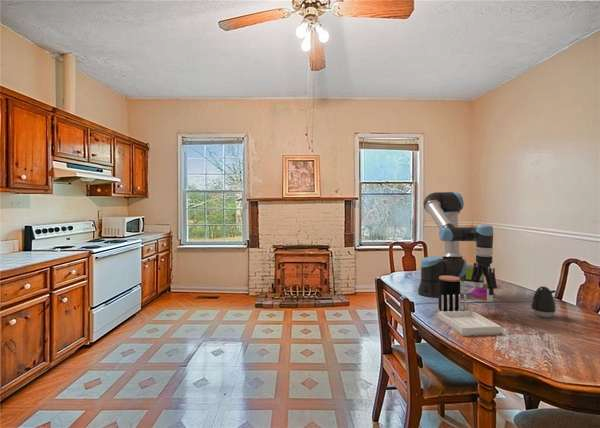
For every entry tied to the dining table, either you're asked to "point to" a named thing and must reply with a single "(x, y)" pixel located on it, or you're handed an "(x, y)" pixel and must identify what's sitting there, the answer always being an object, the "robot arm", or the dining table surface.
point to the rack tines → (453, 303)
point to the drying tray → (469, 323)
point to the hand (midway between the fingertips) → (483, 297)
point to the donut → (480, 293)
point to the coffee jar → (449, 291)
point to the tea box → (467, 277)
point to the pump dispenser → (543, 302)
